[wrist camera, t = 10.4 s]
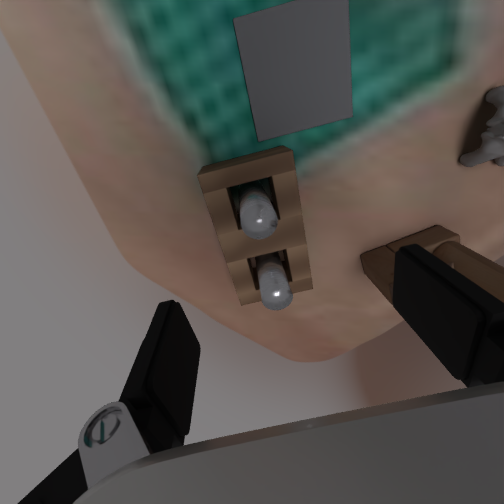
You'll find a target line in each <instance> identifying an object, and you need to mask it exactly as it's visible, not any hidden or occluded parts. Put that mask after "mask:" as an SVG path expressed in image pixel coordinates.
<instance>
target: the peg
mask: <svg viewBox="0 0 504 504" xmlns="http://www.w3.org/2000/svg"><path fill="white" fill-rule="evenodd" d="M238 193H239V206H240V218H241V227H242V230H243V231H244V233H245V234H246V235H247V236H249V237H250V238H253V239H264V238H267V237H269V236H270V235H272V234H273V233H274V231H275V230H276V228H277V224H278V218H277V215H276V213H275V211H274V208H273V206H272V204H271V202H270V200H269V198H268V195H267V193H266V191H265V189H264V187H263V185H262V183H261V182H260V181H259V180H255V181H251V182H247V183H243V184H240V186H239V190H238Z"/></svg>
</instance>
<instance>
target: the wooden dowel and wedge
mask: <svg viewBox="0 0 504 504" xmlns="http://www.w3.org/2000/svg"><path fill="white" fill-rule="evenodd" d="M410 244H418V245H420V246H421V247H423V248H424V249H426V250H427V251H429V252H430V253H431V254H433V255H434V256H436V257H437V258H439V259H440V260H442V261H443V262H445V263H446V264H448V265H449V266H451V267H452V268H453V269H455V270H456V271H458V272H459V273H461V274H462V275H464V276H465V277H467V278H468V279H470V280H471V281H472V282H474V283H475V284H477V285H478V286H480V287H481V288H483V289H484V290H486V291H487V292H489V293H490V294H491V295H493V296H494V297H496V298H497V299H499V300H500V301H502V302H503V303H504V267H502V266H500V265H498V264H497V263H495V262H493V261H491V260H489V259H487V258H485V257H484V256H482V255H480V254H478V253H476V252H474V251H472V250H471V249H469V248H467V247H465V246H463V245H461V244H460V236H459V235H458V234H456V233H454V232H452V231H450V230H448V229H446V228H444V227H442V226H440V225H437V226H435V227H432V228H429V229H427V230H424V231H422V232H419V233H416V234H414V235H411V236H409V237H406V238H403V239H401V240H398V241H396V242H393V243H390V244H388V245H387V247H386V246H382V247H379V248H377V249H374V250H372V251H369V252H366V253H364V254H362V255H361V260H362V264H363V268H364V272H365V274H366V275H367V277H368V278H369V279H370V280H371V281H372V282H373V284H374V285H375V286H376V287H377V288H378V289H379V290H380V292H381V293H382V294H383V295H384V296H385V297H386V299H387V300H388V301H389V302H390V303H391V304H392V305H393V302H392V297H393V281H394V264H395V253H396V252H397V251H399V248H400V247H402V246H406V245H410ZM393 307H394V305H393ZM394 308H395V307H394ZM398 313H399V312H398ZM399 314H400V313H399ZM404 320H405V319H404ZM410 327H411V326H410Z"/></svg>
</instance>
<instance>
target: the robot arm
mask: <svg viewBox="0 0 504 504" xmlns="http://www.w3.org/2000/svg"><path fill="white" fill-rule="evenodd" d="M392 302H393V305H394V307H395V309H396V310H397V311H398V312H399V313H400V315H401V316H402V317H403V318H404V319H405V321H406V322H407V323H408V324H409V325H410V326H411V328H412V329H413V330H414V331H415V332H416V333H417V334H418V336H419V337H420V338H421V339H422V340H423V342H424V343H425V344H426V345H427V346H428V347H429V349H430V350H431V351H432V352H433V353H434V354H435V356H436V357H437V358H438V359H439V360H440V362H441V363H442V364H443V365H444V366H445V367H446V369H447V370H448V371H449V372H450V373H451V375H452V376H454V378H456V379H458V380H461V381H462V382H463V383H464V384H465V385H466V386H467V388H464V389H458V390H453V391H448V392H443V393H437V394H433V395H427V396H422V397H417V398H412V399H407V400H402V401H397V402H392V403H387V404H381V405H376V406H371V407H366V408H361V409H357V410H352V411H346V412H341V413H336V414H331V415H327V416H322V417H316V418H311V419H307V420H301V421H297V422H292V423H287V424H282V425H278V426H272V427H267V428H263V429H258V430H253V431H248V432H243V433H239V434H234V435H229V436H224V437H219V438H215V439H211V440H206V441H202V442H198V443H193V444H188V445H184V438H185V435H188V433H189V430H190V423H191V416H192V409H193V402H194V395H195V387H196V380H197V373H198V366H199V358H200V344H199V342H198V340H197V338H196V336H195V333H194V332H193V329H192V327H191V325H190V323H189V321H188V319H187V317H186V315H185V313H184V311H183V309H182V307H181V305H180V303H179V302H175V301H174V300H169V301H165V302H161V303H159V305H158V307H157V309H156V312H155V314H154V317H153V319H152V322H151V325H150V327H149V330H148V332H147V334H146V337H145V339H144V340H143V342H142V344H141V347H140V349H139V352H138V354H137V357H136V359H135V362H134V364H133V366H132V369H131V372H130V374H129V377H128V379H127V381H126V384H125V386H124V389H123V392H122V394H121V396H120V399H119V401H118V402H111V403H109V404H107V405H104V406H103V407H102V408H100V409H99V410H98V411H96V412H95V413H94V414H93V415H92V416H91V417H90V418H89V420H88V421H87V422H86V423H85V425H84V427H83V429H82V430H81V432H80V436H79V439H78V449H77V450H76V451H74V452H73V453H72V454H71V455H70V456H69V457H68V458H67V459H66V460H65V461H63V462H62V463H61V464H60V465H59V466H58V467H57V468H56V469H55V470H54V471H53V472H51V473H50V475H48V476H47V477H46V478H45V479H44V480H43V481H42V482H41V483H39V484H38V485H37V486H36V487H35V488H34V489H33V490H32V491H31V492H30V493H29V494H28V495H26V496H25V497H24V498H23V499H22V500H21V501H20V502H19V503H18V504H504V303H503V302H502V301H500V300H499V299H497V298H496V297H494V296H493V295H491V294H490V293H489V292H487V291H486V290H484V289H483V288H481V287H480V286H478V285H477V284H475V283H474V282H472V281H471V280H470V279H468V278H467V277H465V276H464V275H462V274H461V273H459V272H458V271H456V270H455V269H453V268H452V267H451V266H449V265H448V264H446V263H445V262H443V261H442V260H440V259H439V258H437V257H436V256H434V255H433V254H431V253H430V252H429V251H427V250H426V249H424V248H423V247H421V246H420V245H418V244H410V245H406V246H402V247H400V248H399V251H397V252H396V253H395V264H394V281H393V297H392ZM183 445H184V446H183Z"/></svg>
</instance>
